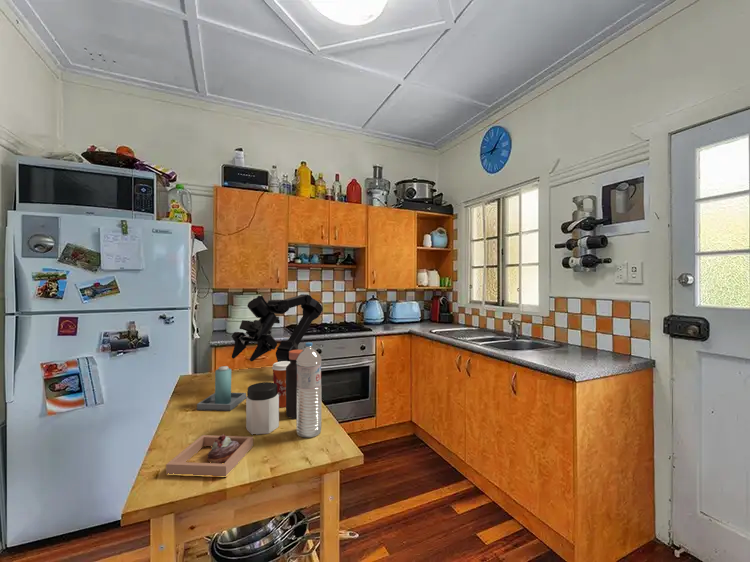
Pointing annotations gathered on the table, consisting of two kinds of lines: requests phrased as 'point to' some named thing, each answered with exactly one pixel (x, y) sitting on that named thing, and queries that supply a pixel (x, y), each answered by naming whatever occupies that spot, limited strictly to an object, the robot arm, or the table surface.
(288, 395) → the vinegar
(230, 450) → the pastry
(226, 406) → the tray
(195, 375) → the table surface
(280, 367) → the paper cup
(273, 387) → the jar
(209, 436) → the pastry plate
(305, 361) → the water bottle
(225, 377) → the pepper mill
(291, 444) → the table surface
